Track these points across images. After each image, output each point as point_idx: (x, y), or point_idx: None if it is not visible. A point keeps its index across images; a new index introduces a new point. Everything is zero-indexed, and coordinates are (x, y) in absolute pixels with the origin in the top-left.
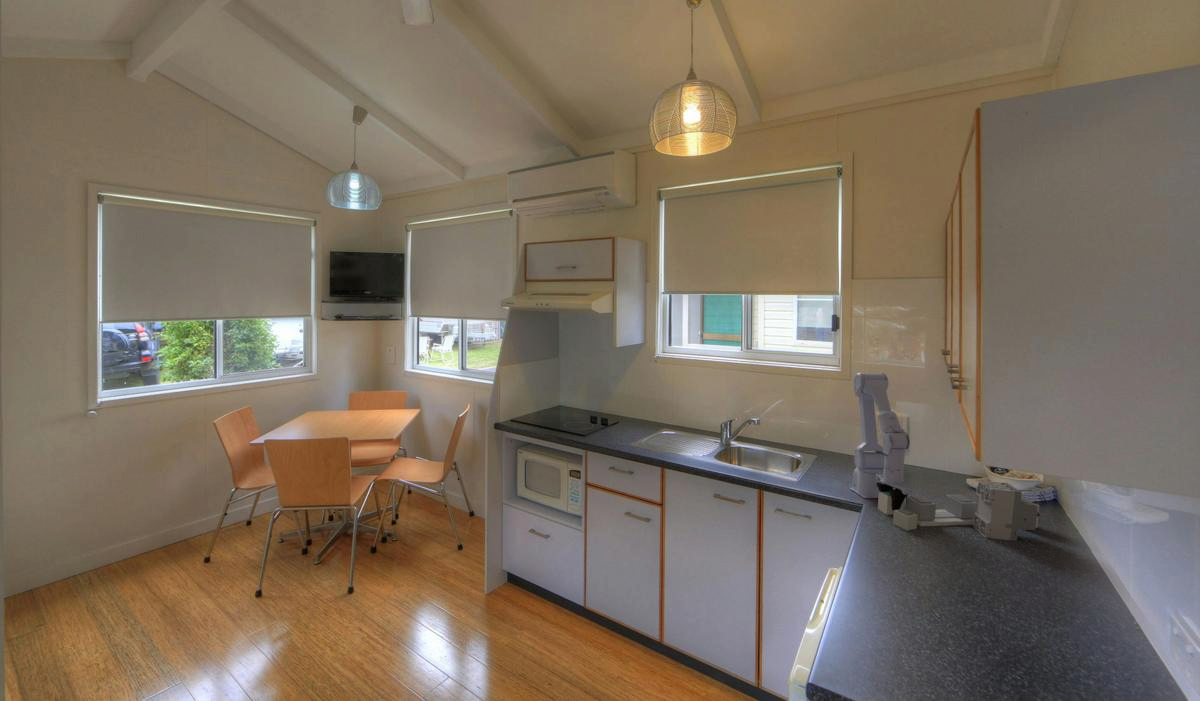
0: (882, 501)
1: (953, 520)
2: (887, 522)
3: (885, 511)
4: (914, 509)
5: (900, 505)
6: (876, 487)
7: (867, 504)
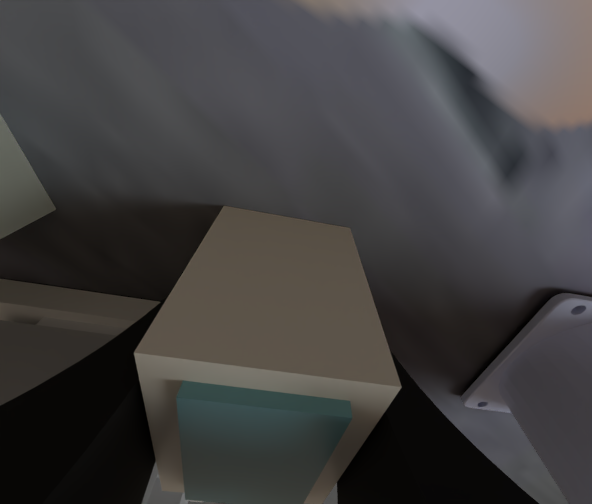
0: (289, 280)
1: None
2: (10, 41)
3: (234, 218)
4: (9, 383)
5: None
6: (563, 447)
7: (469, 221)
